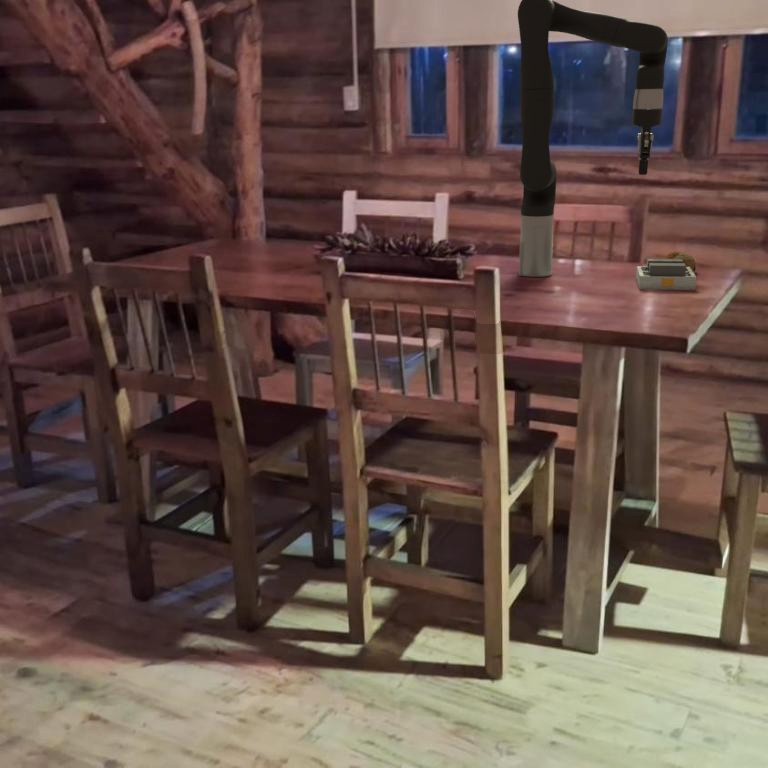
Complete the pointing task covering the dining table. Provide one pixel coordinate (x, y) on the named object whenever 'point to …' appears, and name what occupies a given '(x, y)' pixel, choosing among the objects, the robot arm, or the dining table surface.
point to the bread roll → (685, 257)
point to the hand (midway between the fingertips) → (642, 174)
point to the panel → (667, 269)
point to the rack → (665, 278)
